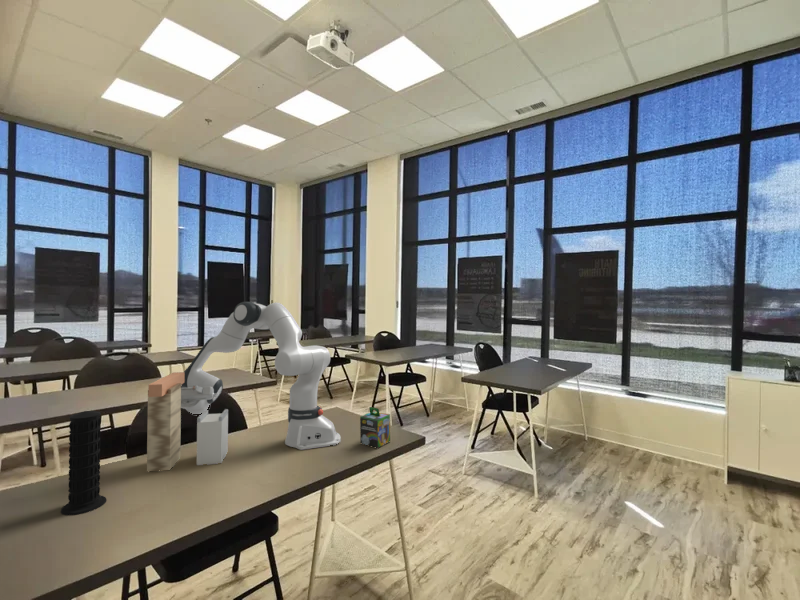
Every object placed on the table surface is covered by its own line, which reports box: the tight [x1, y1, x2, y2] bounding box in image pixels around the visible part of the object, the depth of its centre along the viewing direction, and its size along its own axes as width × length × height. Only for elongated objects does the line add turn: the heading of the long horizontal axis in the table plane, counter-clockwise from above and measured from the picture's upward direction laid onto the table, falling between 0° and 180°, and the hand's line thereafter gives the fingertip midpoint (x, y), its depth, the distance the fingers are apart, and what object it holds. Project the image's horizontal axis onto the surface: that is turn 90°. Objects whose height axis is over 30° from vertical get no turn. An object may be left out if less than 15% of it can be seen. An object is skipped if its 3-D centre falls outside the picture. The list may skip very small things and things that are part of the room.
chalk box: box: [359, 406, 391, 449], centre depth 159 cm, size 9×9×15 cm
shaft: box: [147, 371, 185, 398], centre depth 138 cm, size 4×22×4 cm, turn 12°
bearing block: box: [146, 383, 182, 472], centre depth 136 cm, size 7×10×28 cm
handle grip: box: [60, 410, 107, 516], centre depth 109 cm, size 10×26×10 cm
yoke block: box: [196, 408, 229, 466], centre depth 142 cm, size 8×10×16 cm
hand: (181, 387), depth 153 cm, fingers open, 8 cm apart
